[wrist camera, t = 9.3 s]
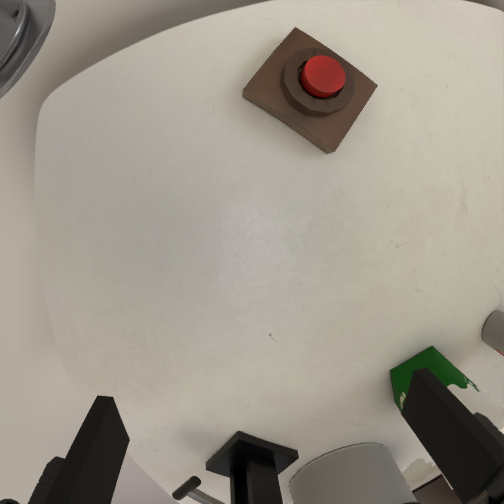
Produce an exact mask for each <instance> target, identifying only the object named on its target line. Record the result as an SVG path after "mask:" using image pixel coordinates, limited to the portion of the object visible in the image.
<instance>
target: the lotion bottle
mask: <svg viewBox="0 0 504 504" xmlns="http://www.w3.org/2000/svg"><path fill="white" fill-rule="evenodd" d="M482 339H483V341H484V342H485V343H486V344H488V345H489V346H490V347H492V348H493V349H495V350H496V351H497V352H499V353H500V354H502V355H503V356H504V312H502V311H499V310H498V311H495V312H493V313H492V314H491V315H490V316H489V318H488V319H487V321H486V323H485V325H484V327H483V331H482Z"/></svg>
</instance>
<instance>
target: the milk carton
mask: <svg viewBox="0 0 504 504" xmlns="http://www.w3.org/2000/svg"><path fill="white" fill-rule="evenodd" d="M423 367H427V368H428V369H429V370H430V371H431V372H432V373H433V374H434V375H435V376H436V377H437V378H438V379H439V380H440V381H441V382H442V383H443V384H444V385H445V386H446V387H447V388H448V389H449V390H450V391H451V392H452V393H453V394H454V395H455V396H456V397H457V398H458V399H459V400H460V401H461V402H462V403H463V404H464V405H465V406H466V408H467V409H468V410H469V411H470V412H471V413H472V414H474V413H476V412H478V413H480V414H482V415H484V416H486V417H487V418H488V419H489V420H490V421H491V422H492V423H493V425H495V426H496V427H497V428H498V429H499V431H501V432H502V433H503V434H504V409H503V408H502V407H500V406H498V405H497V404H496V403H495V402H493V401H492V400H491V399H490V398H489V397H488V396H487V395H486V394H485V393H484V392H483V391H482V390H480V389H479V388H478V387H477V386H476V385H475V384H474V383H473V382H472V381H471V380H469V379H468V378H467V377H466V376H465V375H464V374H463V373H462V372H460V371H459V370H458V369H457V368H456V367H455V366H454V365H453V364H452V363H451V362H450V361H449V360H447V359H446V358H445V357H444V356H443V355H442V354H441V353H440V352H439V351H438V350H436V349H435V348H434V347H433V346H431V347H430V348H428V349H426V350H425V351H423V352H422V353H420V354H418V355H417V356H415V357H413V358H412V359H410V360H408V361H406V362H405V363H403V364H401V365H399V366H398V367H396V368H394V369H392V370H390V374H391V379H392V385H393V391H394V397H395V403H396V404H397V406H398V408H399V410H400V411H402V408H403V405H404V402H405V399H406V395H407V392H408V389H409V385H410V381H411V378H412V374H413V370H416V369H420V368H423ZM441 473H442V472H441ZM442 474H443V473H442ZM443 476H444V475H443ZM444 477H445V476H444ZM445 479H446V478H445ZM446 481H447V479H446ZM447 482H448V481H447ZM448 484H449V482H448ZM449 486H450V488H451V489H452V490H453V488H452V487H451V485H450V484H449Z"/></svg>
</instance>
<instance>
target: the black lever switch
mask: <svg viewBox="0 0 504 504" xmlns="http://www.w3.org/2000/svg"><path fill="white" fill-rule="evenodd" d="M298 458H299V456H298V452H297V451H296V450H293V449H290V448H286V447H283V446H280V445H277V444H274V443H271V442H268V441H265V440H262V439H259V438H256V437H253V436H251V435H248V434H245V433H242V432H240V431H238V432H237V433H236V434H235V435H234V436H233V437H232V438H231V439H230V440H229V441H228V442H227V443H226V444H225V445H224V446H223V447H222V448H221V449H220V450H219V451H218V452H217V453H216V454H215V455H214V456H213V457H212V458H210V459H209V460H208V461H207V462H206V470H208V471H211V472H214V473H217V474H220V475H223V476H226V477H230V492H231V504H283V502H282V497H281V491H280V486H279V481H278V474H280V473H281V472H282V471H284V470H285V469H286V468H287V467H289V466H290V465H291V464H292V463H293V462H295V461H296V460H297V459H298Z"/></svg>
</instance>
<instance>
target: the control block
mask: <svg viewBox="0 0 504 504" xmlns="http://www.w3.org/2000/svg"><path fill="white" fill-rule="evenodd" d="M320 55H323V56H328V57H331V58H333V59H335V60H336V61H337V62H338V63H339V64H340V65H341V66H342V68H343V70H344V72H345V83H344V85H343V86H342V88H341V89H339V90H338V91H337V92H336V93H335V94H333V95H332V96H330V97H325V98H321V97H316V96H314V95H312V94H310V93H309V92H307V91H306V90H305V88H304V87H303V85H302V83H301V80H300V74H301V71H302V69H303V68H304V66H305V65H306V63H307V62H308V60H309V59H311V58H312V57H315V56H320ZM377 86H378V85H377V84H375V83H374V82H373V81H372V80H370V79H369V78H368V77H367V76H365V75H364V74H363V73H362V72H360V71H359V70H358V69H357V68H355V67H354V66H353V65H351V64H350V63H349V62H347V61H346V60H344V59H343V58H342V57H340V56H339V55H338V54H336V53H335V52H333V51H332V50H330V49H329V48H327V47H326V46H324V45H323V44H321V43H320V42H318V41H317V40H315V39H314V38H312V37H311V36H309V35H307V34H306V33H304V32H303V31H301V30H299V29H298V28H296V27H295V28H294V29H293V30H292V31H291V32H290V34H289V35H288V36H287V37H286V38H285V39H284V40H283V42H282V43H281V44H280V45H279V46H278V47H277V49H276V50H275V51H274V52H273V53H272V55H271V56H270V57H269V58H268V59H267V61H266V62H265V63H264V64H263V65H262V67H261V68H260V69H259V70H258V72H257V73H256V74H255V75H254V77H253V78H252V79H251V80H250V82H249V83H248V84H247V86H246V87H245V88H244V90H243V97H244V98H246V99H248V100H249V101H251V102H252V103H254V104H256V105H257V106H259V107H260V108H262V109H263V110H265V111H267V112H268V113H270V114H271V115H273V116H274V117H276V118H277V119H279V120H280V121H282V122H283V123H285V124H286V125H288V126H289V127H291V128H292V129H293V130H295V131H296V132H298V133H299V134H301V135H302V136H303V137H305V138H306V139H308V140H309V141H310V142H312V143H313V144H315V145H316V146H317V147H319V148H320V149H321V150H323V151H324V152H325V153H327V154H328V153H332V152H335V150H336V149H337V147H338V146H339V144H340V143H341V141H342V140H343V138H344V137H345V135H346V134H347V132H348V131H349V129H350V127H351V126H352V124H353V123H354V121H355V120H356V118H357V117H358V115H359V114H360V112H361V111H362V109H363V108H364V106H365V105H366V103H367V101H368V100H369V98H370V97H371V95H372V94H373V92H374V91H375V89H376V88H377Z"/></svg>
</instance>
